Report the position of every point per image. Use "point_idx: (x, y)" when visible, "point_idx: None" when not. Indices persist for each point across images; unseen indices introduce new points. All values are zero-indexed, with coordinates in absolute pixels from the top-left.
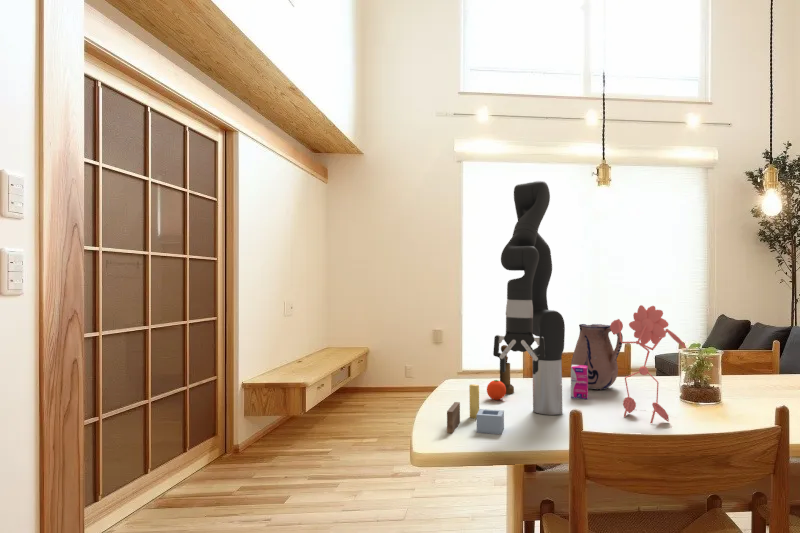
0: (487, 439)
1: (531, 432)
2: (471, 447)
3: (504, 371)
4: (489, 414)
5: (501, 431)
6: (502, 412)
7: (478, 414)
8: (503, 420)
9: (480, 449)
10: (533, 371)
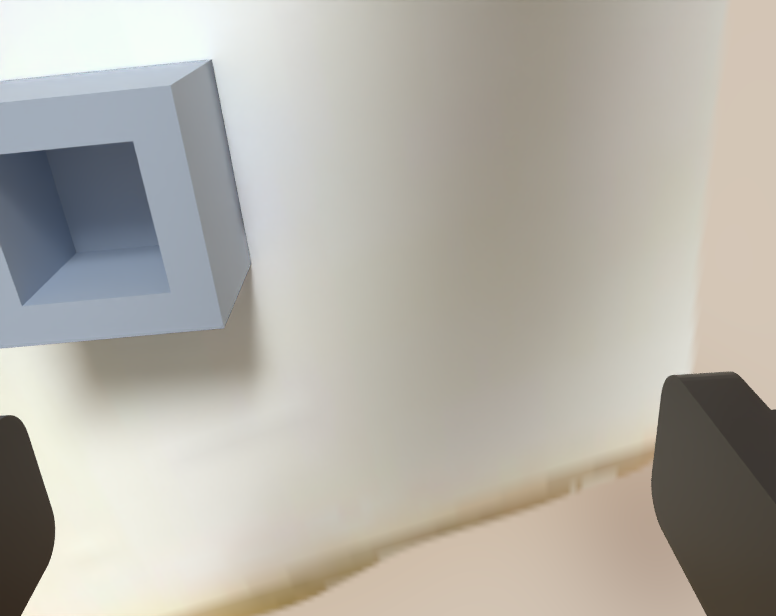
0: (194, 402)
1: (465, 122)
2: (162, 558)
3: (51, 554)
4: (97, 302)
5: (245, 271)
6: (185, 182)
7: (4, 335)
8: (204, 122)
9: (221, 571)
10: (686, 550)
